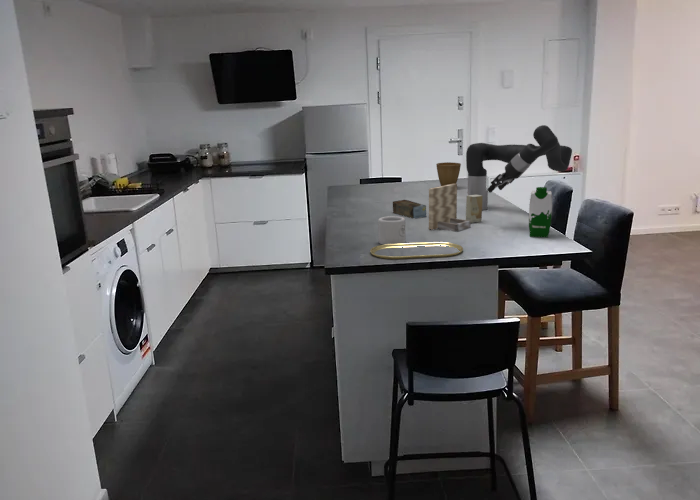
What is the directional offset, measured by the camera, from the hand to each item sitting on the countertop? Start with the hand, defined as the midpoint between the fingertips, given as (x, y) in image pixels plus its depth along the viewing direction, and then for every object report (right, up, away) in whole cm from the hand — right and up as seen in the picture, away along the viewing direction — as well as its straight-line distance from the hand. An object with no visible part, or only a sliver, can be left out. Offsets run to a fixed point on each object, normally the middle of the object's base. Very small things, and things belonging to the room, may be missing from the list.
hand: (494, 189), depth 259 cm
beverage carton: (-34, -10, +32) cm, 48 cm away
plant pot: (-3, +11, +105) cm, 106 cm away
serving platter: (-39, -28, -38) cm, 61 cm away
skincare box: (-7, -14, +11) cm, 19 cm away
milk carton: (+14, -21, -19) cm, 31 cm away
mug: (-46, -24, -22) cm, 56 cm away
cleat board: (-18, -17, 0) cm, 25 cm away
